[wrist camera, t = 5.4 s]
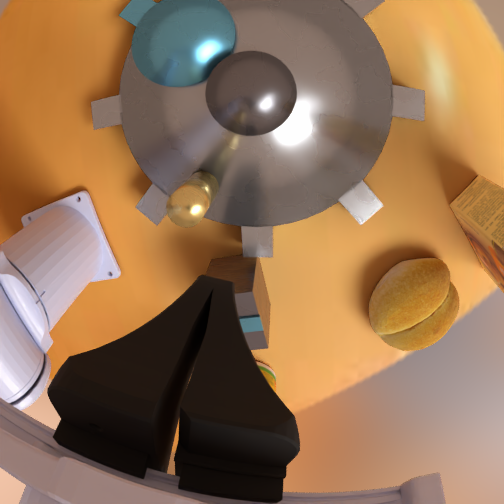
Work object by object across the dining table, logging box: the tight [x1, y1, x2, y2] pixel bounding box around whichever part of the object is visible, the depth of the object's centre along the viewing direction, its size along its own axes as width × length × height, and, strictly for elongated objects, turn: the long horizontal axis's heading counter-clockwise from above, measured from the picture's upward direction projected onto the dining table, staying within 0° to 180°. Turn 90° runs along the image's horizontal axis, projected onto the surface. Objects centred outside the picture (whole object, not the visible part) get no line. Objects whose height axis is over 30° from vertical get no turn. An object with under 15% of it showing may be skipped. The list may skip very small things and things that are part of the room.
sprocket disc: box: [91, 0, 425, 257], centre depth 14 cm, size 21×21×6 cm
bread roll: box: [369, 258, 459, 351], centre depth 22 cm, size 8×9×4 cm
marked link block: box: [205, 254, 270, 350], centre depth 21 cm, size 4×5×5 cm
